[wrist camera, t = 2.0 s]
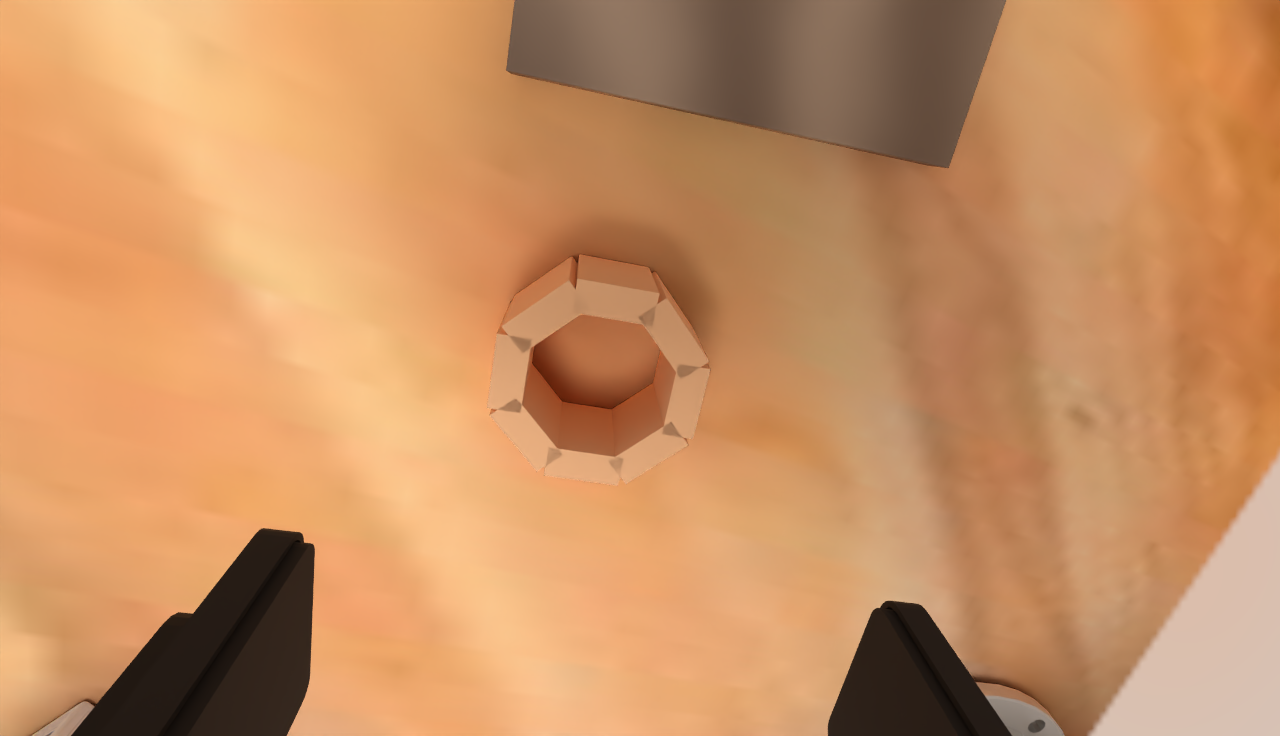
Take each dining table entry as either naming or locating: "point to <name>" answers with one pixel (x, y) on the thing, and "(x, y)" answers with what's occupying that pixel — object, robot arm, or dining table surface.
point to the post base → (775, 63)
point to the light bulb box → (67, 721)
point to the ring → (588, 434)
